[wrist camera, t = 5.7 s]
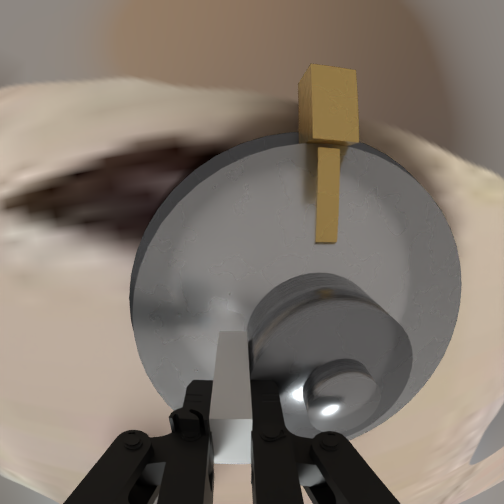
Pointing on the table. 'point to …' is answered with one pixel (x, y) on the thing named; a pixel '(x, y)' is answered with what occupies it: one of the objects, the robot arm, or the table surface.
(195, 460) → the robot arm
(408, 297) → the turntable
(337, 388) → the cover
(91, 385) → the table surface
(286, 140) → the base
